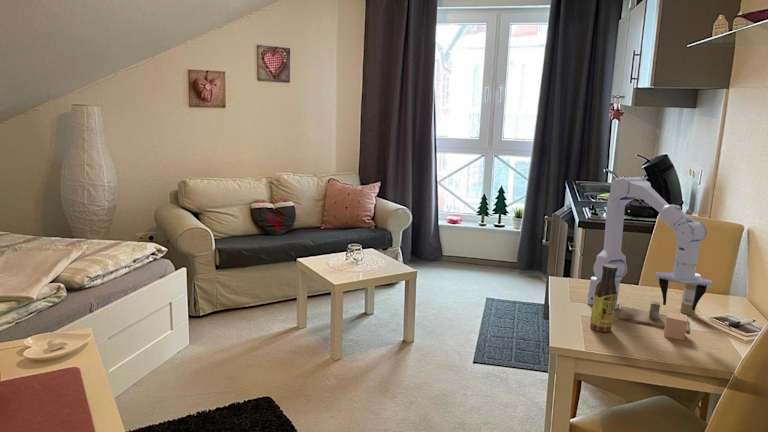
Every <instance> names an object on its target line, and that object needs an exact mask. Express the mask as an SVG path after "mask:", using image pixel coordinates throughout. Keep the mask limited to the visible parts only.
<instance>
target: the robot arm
mask: <svg viewBox="0 0 768 432" xmlns="http://www.w3.org/2000/svg"><path fill="white" fill-rule="evenodd" d="M609 191H610V192H609V194H608V196H607V199H606V200H607V202H606V216H605V226H604V227H605V228H604V237H603V238H604V241H603V249H602V250H601V252H600V253H598V254H597V255H596V256H595V257H596V259H595V263H594V264H593V267H592V268H593V274H594V275H593V276H591V277H590V281H589V282H590V283H589V287H588V288H589V289H588V292H587V303H586V304H588V305H590V306H591V305H592V306H593V301H594V295H595V291H596V286H597V284H598V283H599V282H600V281H601V278H602V273H603V265H604V264H610V265H615V266H617V272H616V276H615V285H616V291H617V299H616V305H615V310H618V308H619V304H620V301H619V293H620V285H621V281H622V280H623V277H625V276H626V275H627V272H628V266H627V261H626V260H627V256H626V255H625V254H624V253H623V252H622V244H623V233H624V231H623V230H624V221H625V210H626V205H627V204H628V203H630V202H631V201H632V200H635V199H641V200H643V201H645V203H647V204H648V205H649V206H650V207H652V208H653V209H655V210H656V211H657V212H658V213H659V218H660V220H661V221H662V222H663V223H665V224H666V225H667V226H668V227H669V228H670V229H671V230H672V231H674V236H675V239H676V253H675V258H674V259H675V260H674V264H673V271H672V272H661V271H656V272H655V278H654V279H655V280H656V281H658V284H659V287H660V290H661V294H662V305H663V306H666V305H667V297H668V296H667V294H668V289H669V282H673V283H677V284H678V283H680V284H684V285H685V284H690V285H696V289H695V296H694V300H693V304H692V310H695V311H696V307H697V305H698V303H699V301H700V300H701V298H702V297H703V296H704V295H705V294H706V291H707V289H711V288H712V285H713V283H712V280H710V279H705V278H702V277H701V278H698V277H695V273H697V272H696V270H697V264H698V260H699V259H698V258H699V255H700V254H699V252H700V246H701V241H703V240H704V239H705V238H706V236H707V233H708V232H707V227H706V226H705V224H704V223H703V221H700V220H694V219H693V217H692V216H689V215H688V214H686V213H685V212H684V211H683V210H682V207H681V206H680V205H677V204H669V203H668V202H667V201H666V200H665V199H664V198H663V197H662V196H660V194H659V193H658V192H657V191H656V190H655V189H654V188H653V187H652V185H651V182H650V181H648V180H647V179H646V178H644V177H643V176H636V177H623V176H621V177H617V178H615V179H614V180H613V181H611V183H610V190H609Z"/></svg>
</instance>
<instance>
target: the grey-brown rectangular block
mask: <svg viewBox="0 0 768 432" xmlns="http://www.w3.org/2000/svg"><path fill="white" fill-rule="evenodd" d="M660 309H661V302H659V301H655V300H654V301H653V300H651V302H650V308H649V311H648V310H643V309H639V308H633V307H628V306H622V305H621V306H620V310H619V314H618V318H617V320H618V321H619V320H621V321H625V322H631V323H636V324H641V325H647V326H651V327H657V328H662V329H664V328H665V322H666V315H667V313H666V314H665V313H660ZM689 333H690V326H689V318H688V317H687V326H686V332H685V334H689Z"/></svg>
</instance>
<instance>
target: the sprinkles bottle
mask: <svg viewBox="0 0 768 432" xmlns="http://www.w3.org/2000/svg"><path fill="white" fill-rule="evenodd" d="M695 277H698V278H702V275H701V274H700V273H697V272H695ZM695 289H696V285H690V284H684V285H683V291H682V297H681V305H680V309H679V311H680V312H681V313H682V314H683V315H690V316H691V315H692V316H693V315H695V314H696V309H695V310H692V304H693V300H694V296H695Z"/></svg>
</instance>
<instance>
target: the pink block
mask: <svg viewBox="0 0 768 432" xmlns="http://www.w3.org/2000/svg"><path fill="white" fill-rule="evenodd" d="M687 318H688V314H684V313H682V314H681V313H676V312H671V311H666V322H665V328H663V329H664V330H663V337H666V338H670V339H675V340H679V341H685V338H686V326H687Z"/></svg>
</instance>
